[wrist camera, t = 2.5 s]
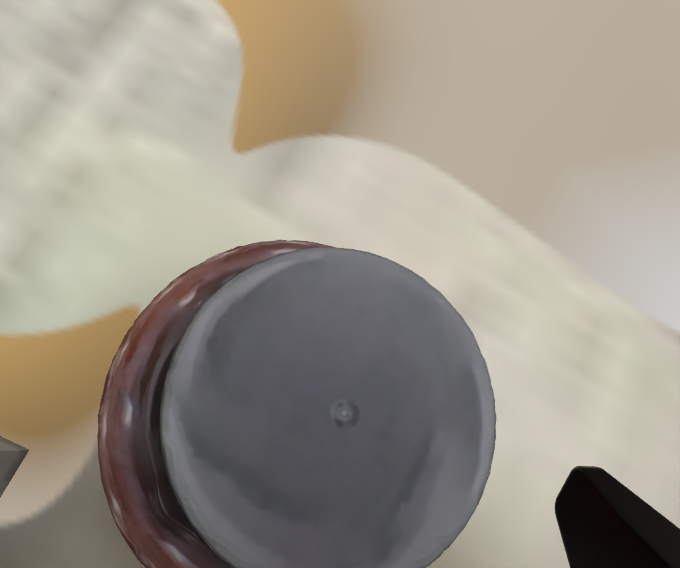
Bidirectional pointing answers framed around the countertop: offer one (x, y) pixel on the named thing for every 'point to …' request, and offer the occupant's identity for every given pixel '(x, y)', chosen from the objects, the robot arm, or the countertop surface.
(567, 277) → the countertop surface
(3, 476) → the bin
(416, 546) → the supplement bottle
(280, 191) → the countertop surface
